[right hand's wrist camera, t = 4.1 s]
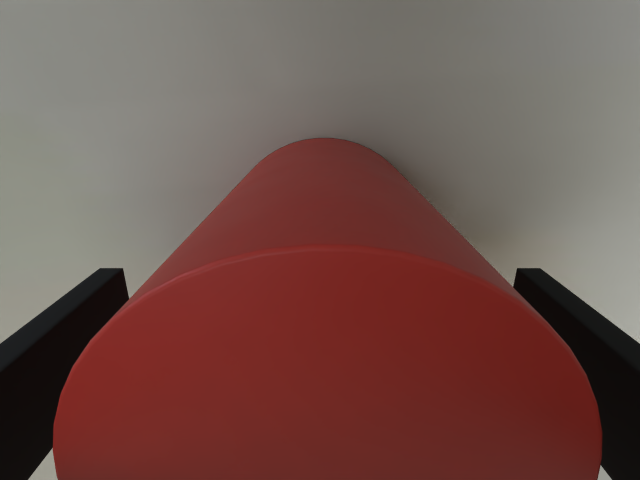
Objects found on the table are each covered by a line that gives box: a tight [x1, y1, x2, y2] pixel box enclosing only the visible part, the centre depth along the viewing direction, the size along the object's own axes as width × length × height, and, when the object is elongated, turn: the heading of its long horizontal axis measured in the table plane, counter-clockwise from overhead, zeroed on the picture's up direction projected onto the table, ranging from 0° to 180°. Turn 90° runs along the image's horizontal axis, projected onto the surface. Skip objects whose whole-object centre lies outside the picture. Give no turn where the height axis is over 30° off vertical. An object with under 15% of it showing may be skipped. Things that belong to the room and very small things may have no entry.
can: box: [53, 138, 602, 480], centre depth 12 cm, size 9×9×13 cm
